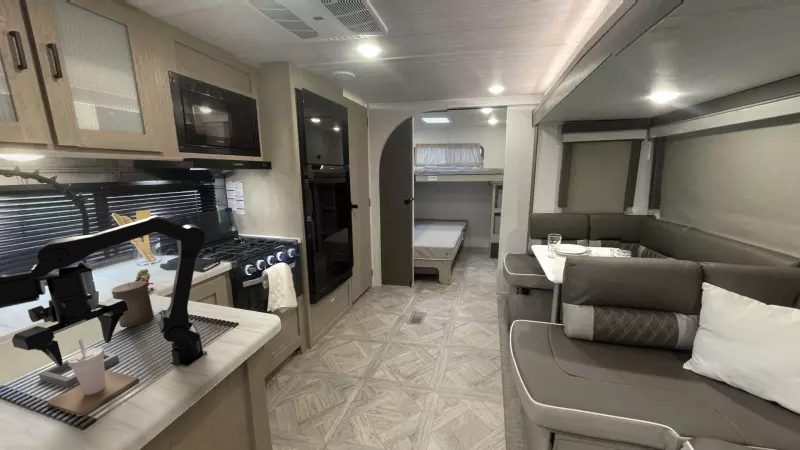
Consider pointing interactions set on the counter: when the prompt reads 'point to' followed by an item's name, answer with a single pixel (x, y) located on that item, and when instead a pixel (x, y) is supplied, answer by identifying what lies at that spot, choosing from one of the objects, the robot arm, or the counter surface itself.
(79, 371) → the smoothie
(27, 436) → the counter surface
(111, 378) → the walnut coaster
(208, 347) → the counter surface
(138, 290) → the pillar candle
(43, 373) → the frame
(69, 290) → the robot arm
